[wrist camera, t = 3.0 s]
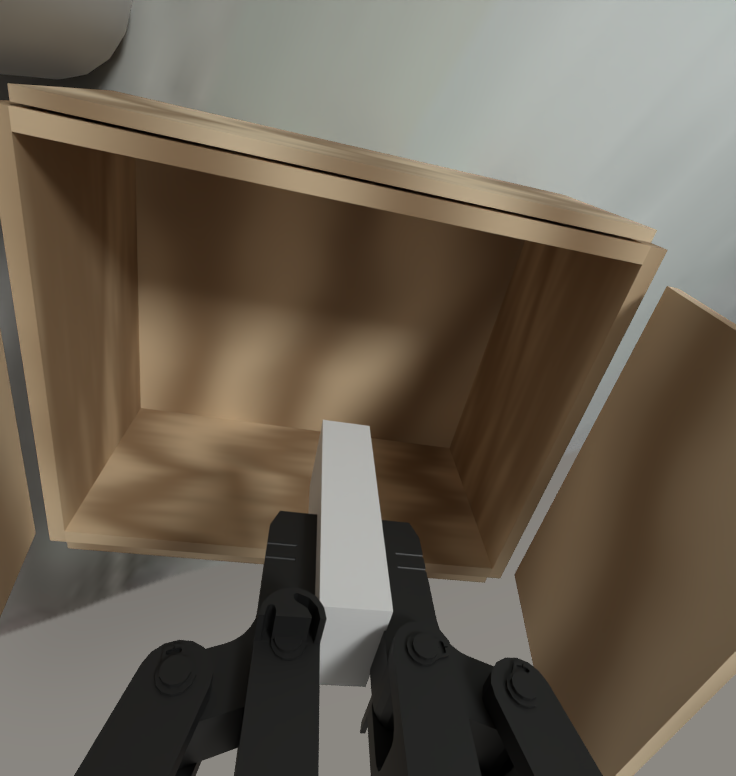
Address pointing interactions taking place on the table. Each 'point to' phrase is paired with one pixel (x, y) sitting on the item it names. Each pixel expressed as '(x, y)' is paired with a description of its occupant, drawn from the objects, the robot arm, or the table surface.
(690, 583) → the flap right
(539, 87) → the table surface
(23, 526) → the flap left
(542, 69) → the table surface
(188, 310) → the carton
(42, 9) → the can
